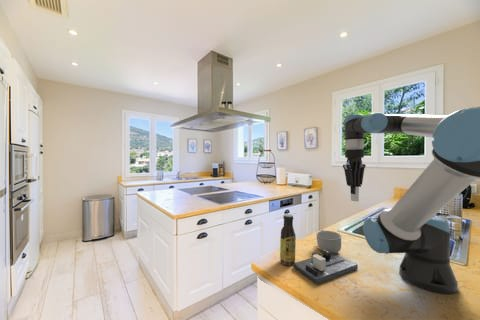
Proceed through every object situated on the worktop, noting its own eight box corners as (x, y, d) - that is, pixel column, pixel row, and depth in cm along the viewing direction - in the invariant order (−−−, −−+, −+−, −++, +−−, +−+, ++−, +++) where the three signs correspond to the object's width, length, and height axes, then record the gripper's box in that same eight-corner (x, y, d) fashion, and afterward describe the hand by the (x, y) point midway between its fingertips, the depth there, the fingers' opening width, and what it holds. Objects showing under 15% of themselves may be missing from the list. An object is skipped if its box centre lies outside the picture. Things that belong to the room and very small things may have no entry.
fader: (325, 269, 75) (325, 258, 75) (321, 271, 74) (321, 260, 74) (317, 264, 78) (317, 254, 78) (312, 266, 77) (312, 255, 77)
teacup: (344, 257, 89) (344, 239, 89) (318, 255, 91) (318, 237, 91) (336, 244, 102) (335, 228, 102) (313, 242, 104) (313, 227, 104)
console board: (357, 269, 79) (357, 257, 79) (316, 284, 69) (316, 271, 69) (331, 256, 90) (331, 246, 90) (293, 268, 80) (293, 257, 80)
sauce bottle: (286, 268, 80) (286, 218, 80) (277, 261, 86) (276, 214, 86) (299, 264, 83) (298, 216, 83) (288, 257, 89) (288, 212, 89)
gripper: (355, 149, 98) (356, 198, 98) (337, 149, 92) (337, 200, 92) (371, 148, 91) (371, 201, 91) (352, 148, 85) (353, 203, 85)
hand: (354, 200), depth 91 cm, fingers closed
